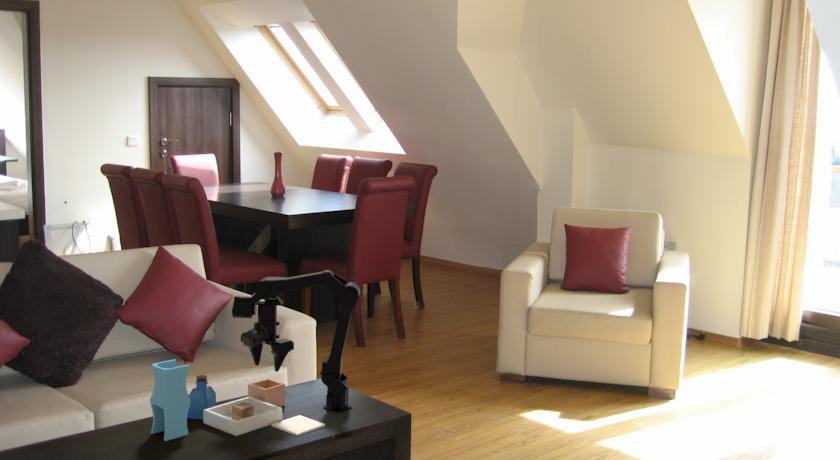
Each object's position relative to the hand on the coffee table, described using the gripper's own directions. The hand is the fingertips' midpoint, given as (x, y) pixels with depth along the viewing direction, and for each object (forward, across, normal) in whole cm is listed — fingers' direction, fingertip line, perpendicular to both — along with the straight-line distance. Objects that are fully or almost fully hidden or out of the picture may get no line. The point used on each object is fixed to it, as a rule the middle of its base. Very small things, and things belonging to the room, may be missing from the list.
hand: (266, 368), depth 269 cm
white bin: (+12, +6, -14) cm, 19 cm away
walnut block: (+12, +6, -14) cm, 19 cm away
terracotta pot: (+12, 0, 0) cm, 12 cm away
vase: (+12, -1, -34) cm, 36 cm away
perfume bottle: (+12, -7, -19) cm, 24 cm away
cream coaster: (+12, +20, -5) cm, 24 cm away
